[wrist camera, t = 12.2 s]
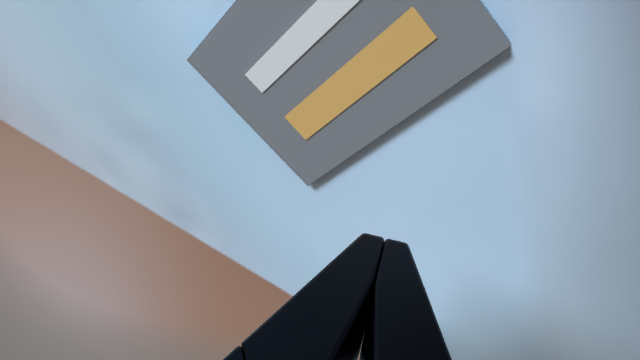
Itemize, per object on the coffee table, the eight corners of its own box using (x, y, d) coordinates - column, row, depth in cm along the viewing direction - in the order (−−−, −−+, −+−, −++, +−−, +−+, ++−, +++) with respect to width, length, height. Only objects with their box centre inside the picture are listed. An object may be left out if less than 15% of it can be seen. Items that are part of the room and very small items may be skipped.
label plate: (368, -155, 15) (364, -157, 15) (510, 41, 17) (511, 46, 17) (192, 56, 22) (185, 60, 21) (310, 180, 24) (307, 186, 23)
